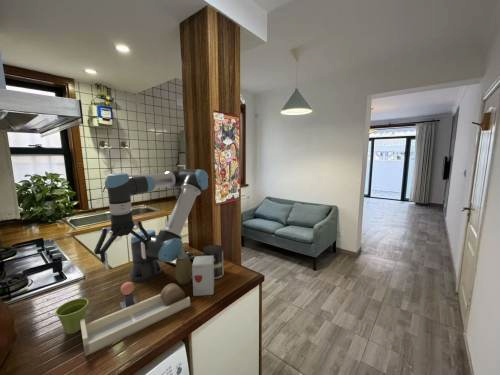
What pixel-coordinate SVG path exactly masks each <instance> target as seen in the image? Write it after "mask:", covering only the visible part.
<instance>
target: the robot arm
mask: <svg viewBox="0 0 500 375" xmlns="http://www.w3.org/2000/svg"><path fill="white" fill-rule="evenodd" d="M208 178H209V174H208V172H206V171H205V170H204V169H199V168H197V169H187V168H184V169H183V168H182V169H177V170H171V171H170V170H169V171H165V172H163V173H148V174H147V173H145V174H128V173H111V174H108V175H107V176H106V179H105V181H104V187H105V188H106V190H107V197H108V205H109V214H110V216H109V218H110V224H111V226H110V227H102V228H101V234H100V236H99V239H98V241H97V243H96V245H95V249H94V250H93V252H94V254H95V256H96V255H100V262H101V263H104V267H105V270H106V271H109V268H110V267H109V259H108V253H107V251H108V249H109V248H110V246H112V244H113V243H114V242H115V240H116V239H118V237H120V238H122V237H124V236H129V234H131V237H130V249H131V255H132V265H131V268H130V272H129V277H130V280H131V281H132V282H135V283H142V282H149V281H150V280H154V279H156V278H157V277H159V276H160V275H161V274H162V273H163V272H162V271H163V270H162V269H163V268H162V265H161V263H160V262H163V263H165V262H166V263H172V262H174V261H176V259H177V258H178V254H179V253H180V250H181V247H184V244H183V240H182V239H183V236H182V235H181V233H182V231H183V229H184V226H185V224H186V222H187V220H188V217H189V214H190V212H191V210H192V207H193V205H194V204H195V203H194V202H195V201H196V199H197V196H200V195H201V193H202V191H204V190H207V189H208V188H209V185H208ZM164 187H166V188H169V189H170V188H179V189H181V192H180V195H179V197H178V199H177V200H176V203H175V205H174V208H173V210H172V211H171V213H170V216H169V218H168V220H167V222H166V224H165V226H164V228H161V229H160V230H159V232H158V234H157V233H156V231H155V230H154V229H149V230H146V229H145V228H144V226H143V223H142V221H140V220H137V221H134V217H133V212H132V211H133V208H132V197H133V196H138V195H142V194H148V193H150V192H151V193H152V192H153V191H154V190H155V189H156V188H164ZM135 227H137V228H138V229H139V230H140V232H139V231H138V232H136V231H135V230H133V229H134V228H135ZM110 231H111V232H112V234H110V237H109V238H108V240H106V242H105V239H106V237H107V235H108V234H109V232H110ZM156 234H157V235H156ZM104 242H105V243H104Z"/></svg>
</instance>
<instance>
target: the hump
mask: <svg viewBox="0 0 500 375" xmlns="http://www.w3.org/2000/svg"><path fill="white" fill-rule="evenodd" d="M160 294H161V300H162V301H163V302H164V304H165V305H166V306H169V305H172V304H174V303H176V302H178V301H181V300H183V299H185V298H186V295H185V292H184V291H183V289H182V288H181V287H180V286H179V285H178V283H169V284H167V285H165V286H164V287H163V289H162V290H161V292H160Z"/></svg>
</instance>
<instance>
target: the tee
mask: <svg viewBox="0 0 500 375" xmlns="http://www.w3.org/2000/svg"><path fill="white" fill-rule="evenodd" d="M122 295H123V301H122V302H119V307H120V310H122V309H125V308H127V307H129V306H132V305H134V304H137V303H139V302H138V300H137V298H136V297H135V296H134V294H133V292H132V293H131V294H129V295H124V294H122Z"/></svg>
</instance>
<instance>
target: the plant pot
mask: <svg viewBox="0 0 500 375" xmlns="http://www.w3.org/2000/svg"><path fill="white" fill-rule="evenodd" d="M89 302H90V301H89V300H88V298H85V297H81V298H75V299H71V300H69V301H67V302H64V303H63V304H61V305H60V306H58V308H57V309H56V310H55V311H54V313H55V314H54V315H55V316H57V318H58V319H59V322H60V323H61V326H62V328H63V331H64V333H65V334H66V335H71V334H72V335H73V334H75V333H76V334H77V333H78V332H79V331H81V324H80V320H81V319H84V320H85V324H87V308H88V305H89Z"/></svg>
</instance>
